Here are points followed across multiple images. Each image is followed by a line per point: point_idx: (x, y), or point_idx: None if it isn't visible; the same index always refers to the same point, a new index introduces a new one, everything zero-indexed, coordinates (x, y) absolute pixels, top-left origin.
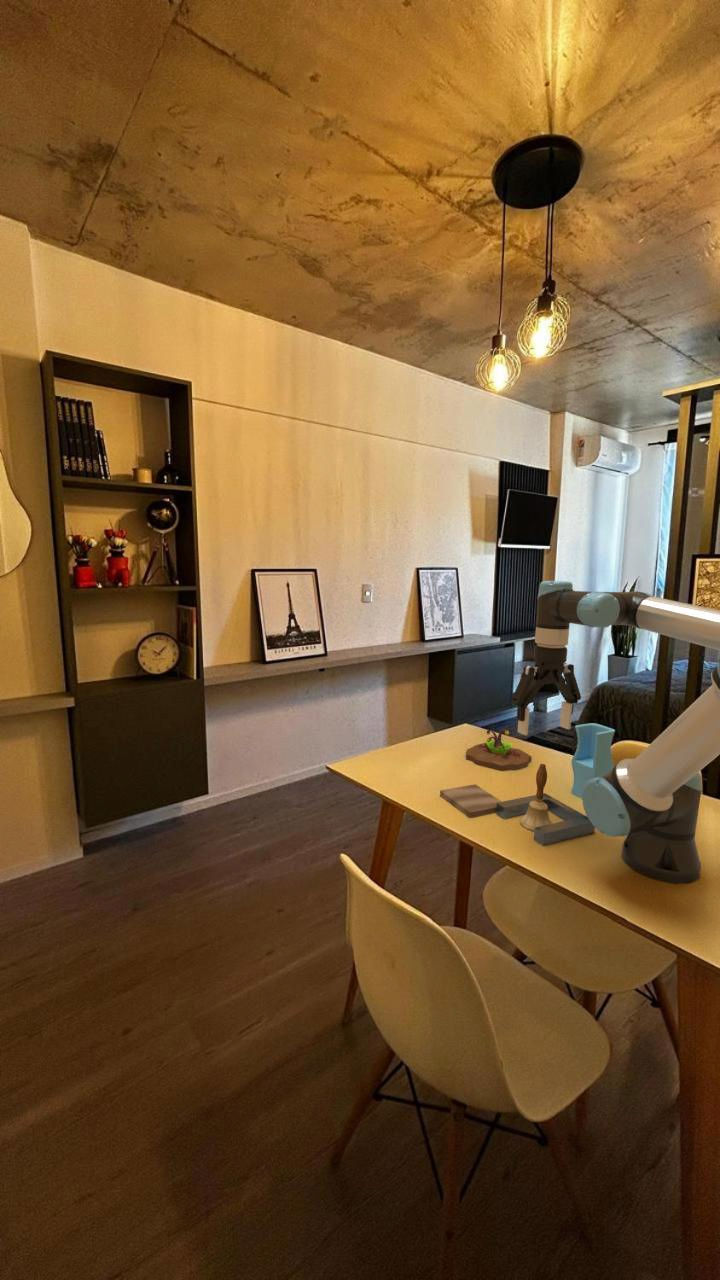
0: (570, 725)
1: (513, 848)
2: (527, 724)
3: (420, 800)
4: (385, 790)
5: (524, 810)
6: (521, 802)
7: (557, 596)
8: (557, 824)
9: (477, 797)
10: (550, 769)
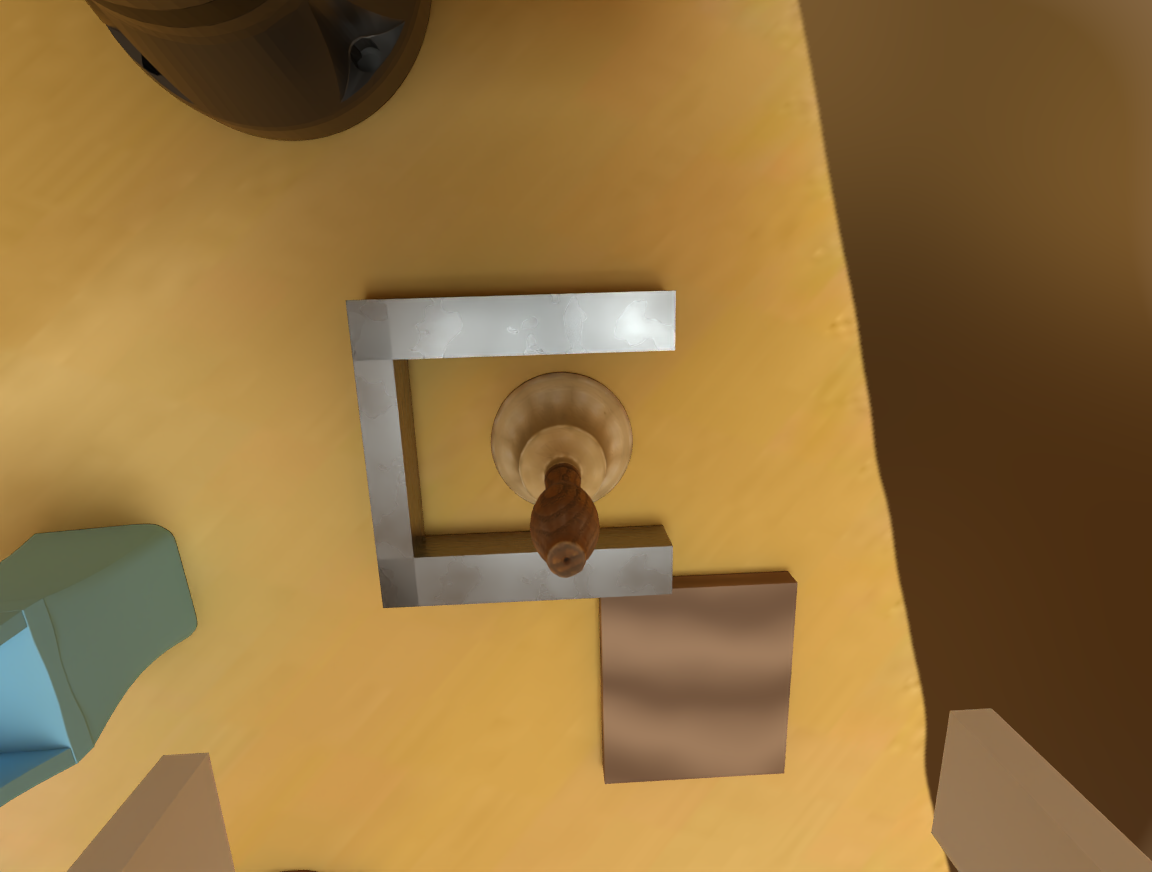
0: (124, 804)
1: (791, 316)
2: (1102, 849)
3: (871, 741)
4: None
5: None
6: None
7: None
8: (551, 338)
9: (678, 682)
10: None
